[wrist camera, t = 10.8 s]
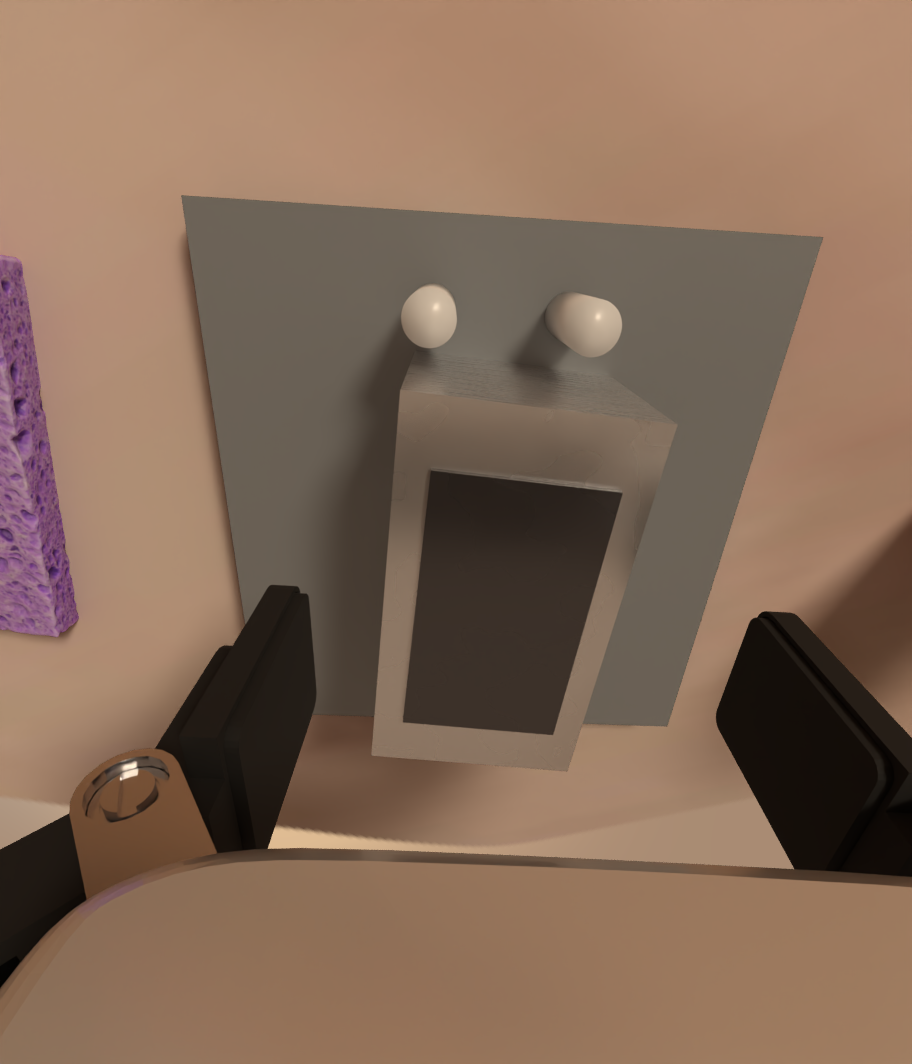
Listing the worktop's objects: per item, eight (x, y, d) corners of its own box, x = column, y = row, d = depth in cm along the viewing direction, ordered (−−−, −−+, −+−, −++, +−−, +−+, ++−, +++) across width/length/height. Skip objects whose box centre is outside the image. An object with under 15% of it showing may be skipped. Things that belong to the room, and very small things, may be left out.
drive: (610, 376, 15) (680, 427, 10) (540, 655, 20) (568, 775, 15) (415, 350, 15) (399, 391, 10) (389, 640, 19) (370, 760, 15)
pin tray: (796, 238, 15) (914, 231, 11) (656, 704, 22) (698, 793, 19) (201, 200, 14) (111, 178, 10) (267, 690, 22) (229, 779, 18)
